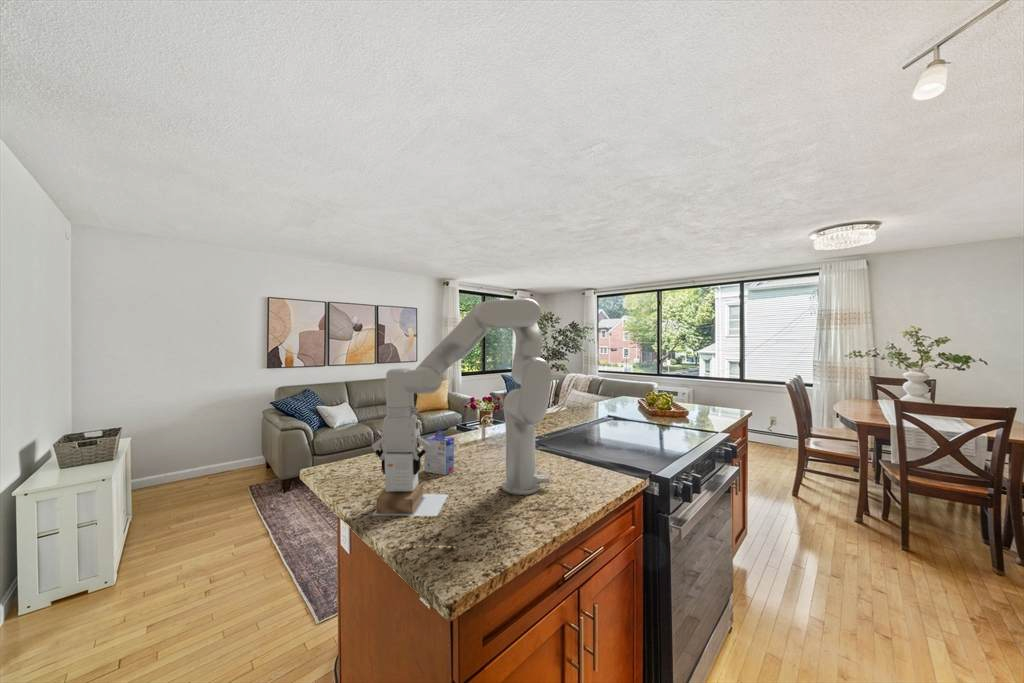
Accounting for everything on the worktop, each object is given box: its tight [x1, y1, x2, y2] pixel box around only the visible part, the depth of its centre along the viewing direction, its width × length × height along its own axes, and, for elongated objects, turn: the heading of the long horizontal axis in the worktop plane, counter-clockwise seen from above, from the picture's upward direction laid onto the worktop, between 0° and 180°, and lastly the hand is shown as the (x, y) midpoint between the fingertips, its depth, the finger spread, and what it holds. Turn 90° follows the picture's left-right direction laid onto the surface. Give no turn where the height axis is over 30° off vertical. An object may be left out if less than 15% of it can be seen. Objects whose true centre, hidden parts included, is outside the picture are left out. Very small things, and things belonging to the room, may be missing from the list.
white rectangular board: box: [371, 493, 449, 517], centre depth 107 cm, size 18×14×1 cm
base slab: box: [375, 484, 424, 514], centre depth 107 cm, size 10×10×4 cm
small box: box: [384, 452, 419, 491], centre depth 107 cm, size 8×6×10 cm
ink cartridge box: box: [423, 429, 455, 476], centre depth 135 cm, size 10×6×14 cm, turn 66°
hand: (401, 472), depth 107 cm, fingers closed on small box, 8 cm apart
